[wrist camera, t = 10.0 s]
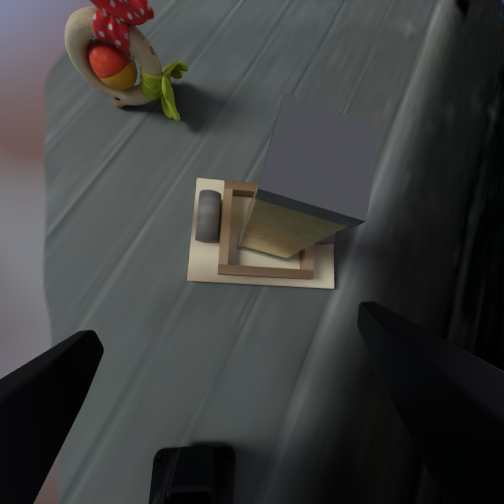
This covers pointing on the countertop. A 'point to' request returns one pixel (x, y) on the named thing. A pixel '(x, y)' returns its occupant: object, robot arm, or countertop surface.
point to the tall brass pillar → (310, 179)
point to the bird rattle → (120, 54)
